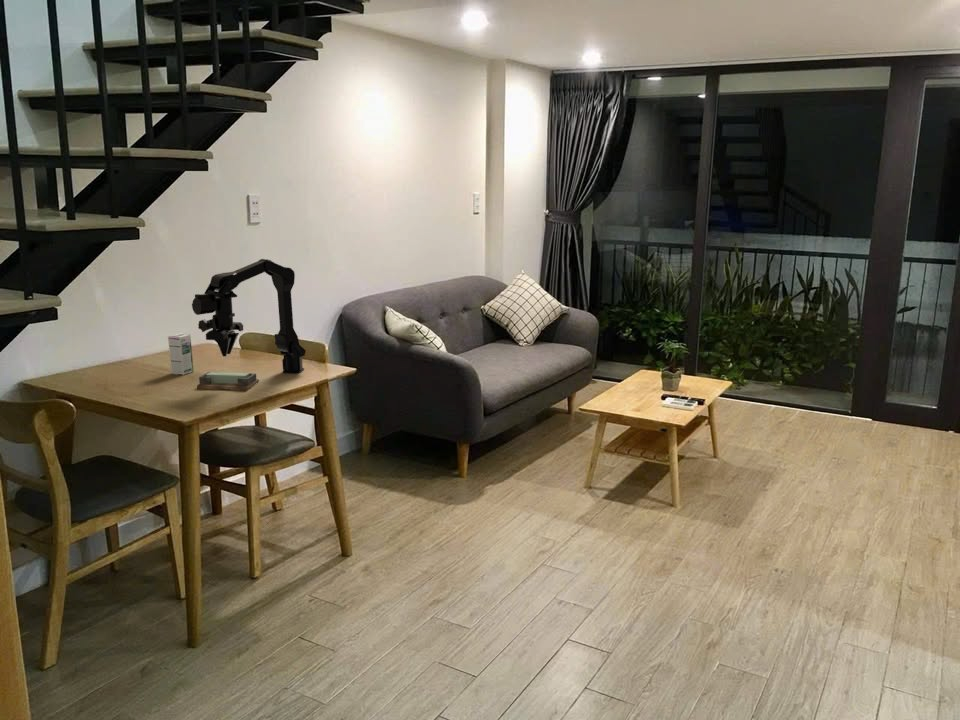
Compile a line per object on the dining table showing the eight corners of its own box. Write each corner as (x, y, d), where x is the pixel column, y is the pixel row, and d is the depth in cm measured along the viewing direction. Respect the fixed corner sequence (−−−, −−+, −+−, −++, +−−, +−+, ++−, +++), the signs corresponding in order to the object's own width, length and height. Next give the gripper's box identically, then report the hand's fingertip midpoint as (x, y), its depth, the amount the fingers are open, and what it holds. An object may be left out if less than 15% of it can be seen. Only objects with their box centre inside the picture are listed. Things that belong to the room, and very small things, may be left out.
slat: (249, 381, 285) (248, 373, 284) (245, 384, 281) (245, 375, 280) (210, 380, 286) (210, 372, 285) (206, 382, 282) (206, 374, 281)
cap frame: (258, 382, 288) (258, 372, 287) (247, 390, 277) (246, 380, 277) (210, 380, 290) (209, 370, 289) (197, 388, 279) (196, 378, 278)
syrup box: (183, 375, 297) (180, 336, 293) (170, 373, 299) (167, 335, 295) (193, 371, 302) (191, 333, 298) (181, 370, 304) (178, 332, 300)
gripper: (212, 306, 287) (215, 348, 291) (189, 315, 269) (192, 360, 273) (242, 306, 286) (245, 349, 290) (221, 316, 268) (224, 361, 272)
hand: (226, 355), depth 281 cm, fingers open, 3 cm apart
